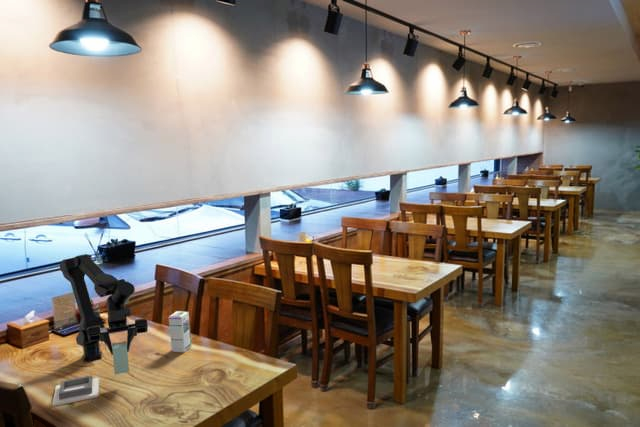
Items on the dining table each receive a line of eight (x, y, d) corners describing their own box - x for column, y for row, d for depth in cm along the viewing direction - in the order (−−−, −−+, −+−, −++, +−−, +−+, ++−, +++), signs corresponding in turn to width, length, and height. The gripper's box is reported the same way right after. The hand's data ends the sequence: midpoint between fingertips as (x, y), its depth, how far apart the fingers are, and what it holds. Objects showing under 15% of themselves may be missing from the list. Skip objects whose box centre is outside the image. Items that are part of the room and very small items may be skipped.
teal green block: (114, 369, 166) (112, 343, 165) (128, 366, 168) (126, 341, 166) (114, 374, 162) (112, 348, 161) (129, 371, 164) (126, 345, 162)
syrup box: (185, 352, 191) (182, 316, 189) (170, 351, 192) (168, 315, 190) (191, 346, 196) (189, 311, 194) (178, 345, 198) (175, 310, 196)
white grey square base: (56, 387, 165) (55, 379, 165) (98, 379, 170) (98, 371, 170) (52, 406, 154) (51, 397, 153) (98, 396, 159) (97, 388, 158)
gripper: (84, 303, 162) (86, 348, 153) (144, 295, 169) (150, 337, 160) (87, 319, 170) (89, 362, 161) (145, 310, 177) (150, 351, 169)
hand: (120, 353), depth 163 cm, fingers closed on teal green block, 4 cm apart
